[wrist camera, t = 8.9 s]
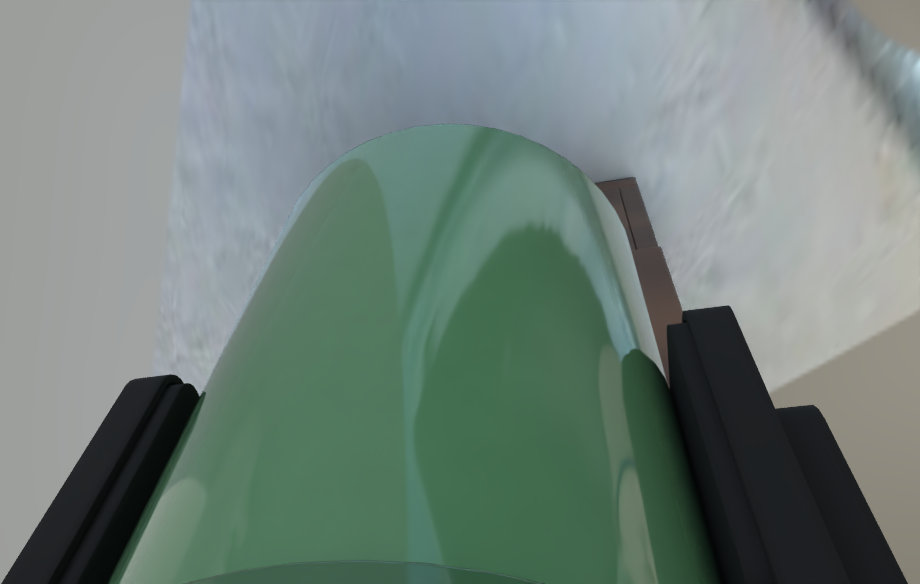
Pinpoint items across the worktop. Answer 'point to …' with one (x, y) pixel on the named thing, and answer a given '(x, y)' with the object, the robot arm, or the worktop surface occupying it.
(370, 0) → the worktop surface
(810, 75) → the worktop surface
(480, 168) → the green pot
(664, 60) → the worktop surface
